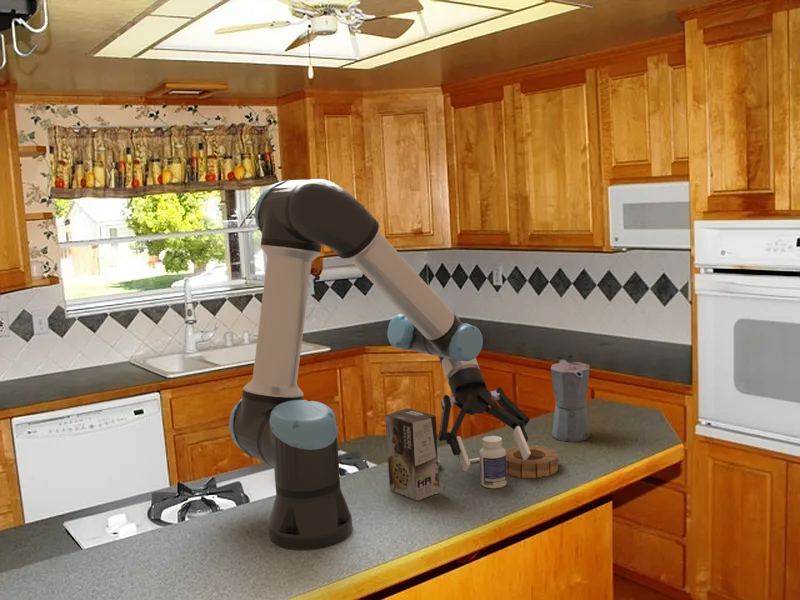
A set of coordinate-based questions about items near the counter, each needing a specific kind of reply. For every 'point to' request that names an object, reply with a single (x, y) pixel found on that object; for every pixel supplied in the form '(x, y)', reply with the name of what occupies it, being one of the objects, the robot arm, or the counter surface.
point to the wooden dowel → (474, 460)
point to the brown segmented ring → (531, 462)
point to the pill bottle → (493, 463)
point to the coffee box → (412, 453)
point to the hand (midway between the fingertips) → (497, 462)
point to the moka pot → (570, 400)
